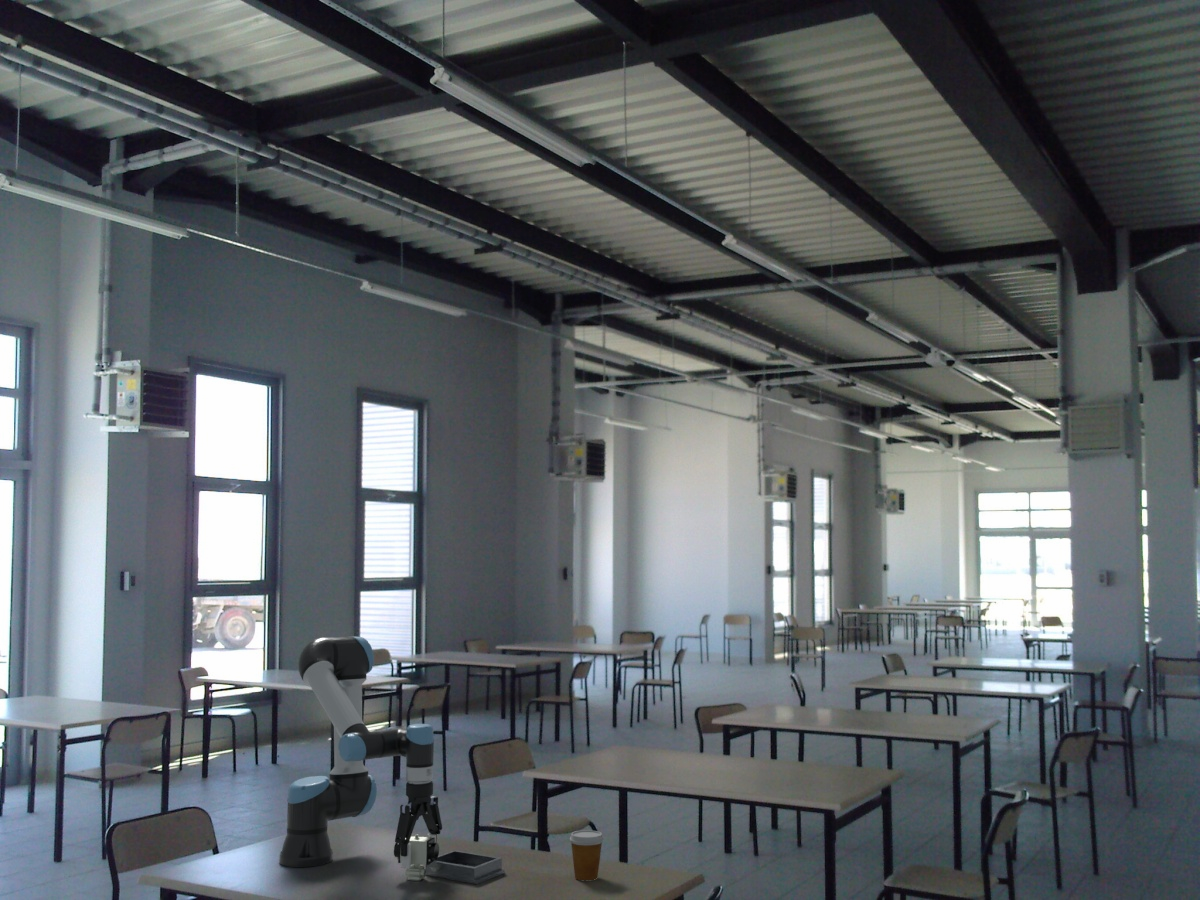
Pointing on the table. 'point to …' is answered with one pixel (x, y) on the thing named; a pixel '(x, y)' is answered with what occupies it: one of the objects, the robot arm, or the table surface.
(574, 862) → the disposable coffee cup
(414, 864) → the pneumatic valve
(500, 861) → the rectangular open-top bin
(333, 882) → the table surface
